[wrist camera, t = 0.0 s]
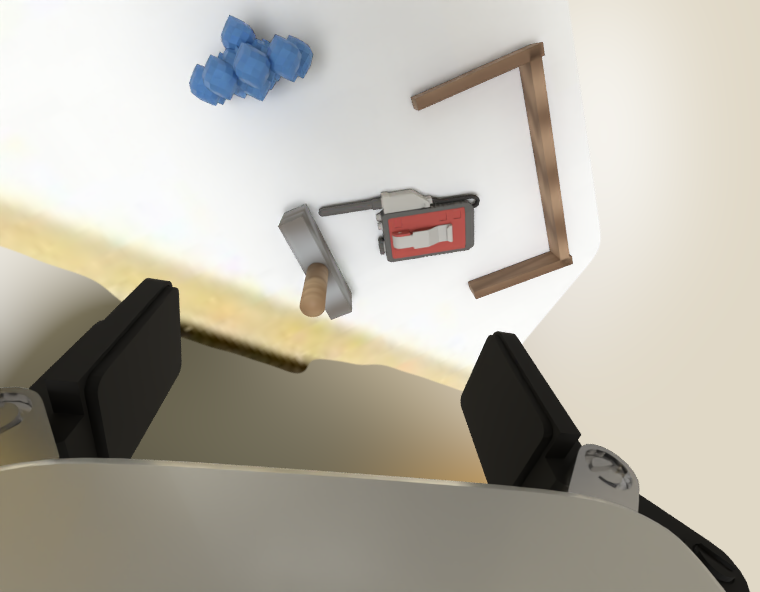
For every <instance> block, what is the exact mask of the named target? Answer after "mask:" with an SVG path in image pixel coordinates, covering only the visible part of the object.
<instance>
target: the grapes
mask: <svg viewBox="0 0 760 592" xmlns="http://www.w3.org/2000/svg"><path fill="white" fill-rule="evenodd" d="M221 38H222V43H223V45H224V47H225V48H226V50H225V51H224V53H221V52H220V53H219V55H218V58H217V57H215V56H213V55H210V57H209V59H208V61H207V63H206V65H205V67H204V66H201V65H199V64H197V65H196V67H195V69H194V71H193V73H192V76H191V79H190V82H189V84H190V89H191V92H192V93H193V94H194V95H195V96H196V97H198V98H199V99H201V100H203V101H205V102H207V103H209V104H212V105H215V106H216V105H217V103H219V104H222V105H223V104H224V102H225V100H226V99H228V100H230V99H231V98H232V96H233V94H235V95H237V96H239V97H242V98H245V97H246V95H247V94H248V95H250V96H252V97H254V98H256V99H258V100H261V101H263V100H264V98H265V96H266V94H267V93H268V91H269V89H270V90H272V88H273V86H274V85H275V83H276V81H279V79H280V77H283V78H285V79H288V80H290V81H292V82H295V80H296V78H297V77H298V76H299V77H301V78H304V76H305V75H306V73H307V71H308V69H309V68H310V66H311V62H312V57H313V53H312V51H311V49H310V47H309V46H308V45H307V44H306V43H304V42H303V41H301V40H299V39H297V38H295V37H293V36H290V35H289V36H288V38H287V39H285V38H283V37H280V36H278V35H276V34H275V36H274V38H273V40H272V41H271V43H270V42H268V41H267V40H265V39H262V41H261V40H259V39H255V34H254V32H253V30H252V29H251V27H250V26H249V25H248V24H246V23H245V22H243V21H241V20H239V19H237V18H235V17H233V16H230V15H229V17H228V19H227V21H226V23H225V26H224V28H223V31H222V34H221Z"/></svg>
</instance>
